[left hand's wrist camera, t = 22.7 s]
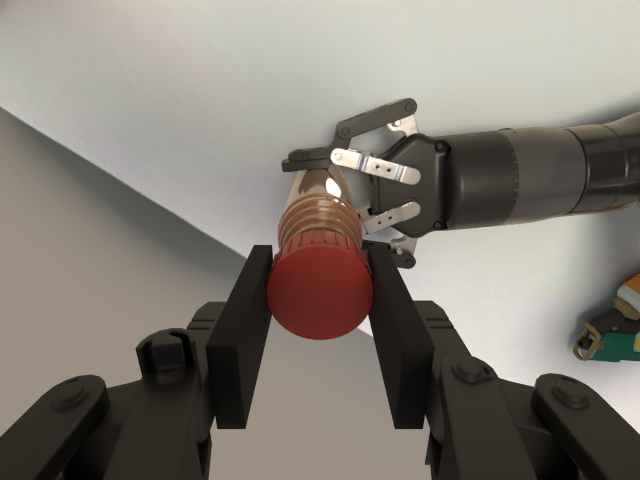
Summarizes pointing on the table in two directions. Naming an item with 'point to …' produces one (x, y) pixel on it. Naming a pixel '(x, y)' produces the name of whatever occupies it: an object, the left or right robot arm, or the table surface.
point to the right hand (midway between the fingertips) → (288, 199)
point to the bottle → (320, 206)
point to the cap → (320, 285)
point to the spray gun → (614, 329)
